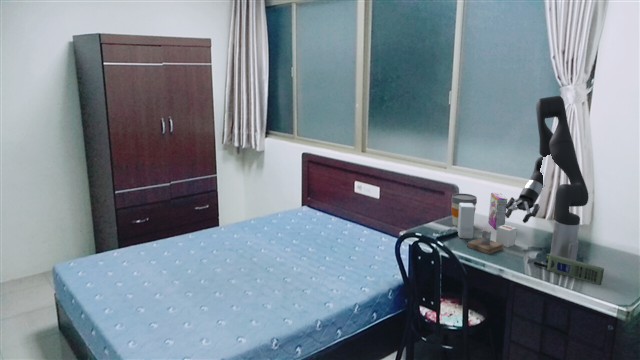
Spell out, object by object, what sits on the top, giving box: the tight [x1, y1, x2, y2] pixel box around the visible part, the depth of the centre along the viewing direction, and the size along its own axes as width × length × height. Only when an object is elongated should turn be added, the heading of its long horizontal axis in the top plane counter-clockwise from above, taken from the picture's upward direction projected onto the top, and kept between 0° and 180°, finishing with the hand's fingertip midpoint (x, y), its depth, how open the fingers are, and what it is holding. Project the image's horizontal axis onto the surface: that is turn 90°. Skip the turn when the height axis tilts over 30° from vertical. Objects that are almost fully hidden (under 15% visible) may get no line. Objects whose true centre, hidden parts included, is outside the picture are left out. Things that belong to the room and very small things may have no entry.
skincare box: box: [457, 203, 476, 239], centre depth 229 cm, size 8×7×16 cm
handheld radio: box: [533, 253, 605, 286], centre depth 189 cm, size 7×3×25 cm
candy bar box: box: [488, 192, 508, 231], centre depth 244 cm, size 11×5×16 cm, turn 179°
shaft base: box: [467, 228, 504, 255], centre depth 216 cm, size 11×11×8 cm
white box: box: [495, 224, 518, 248], centre depth 220 cm, size 6×6×8 cm
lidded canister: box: [450, 192, 478, 227], centre depth 246 cm, size 13×13×15 cm
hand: (515, 219), depth 222 cm, fingers open, 8 cm apart
